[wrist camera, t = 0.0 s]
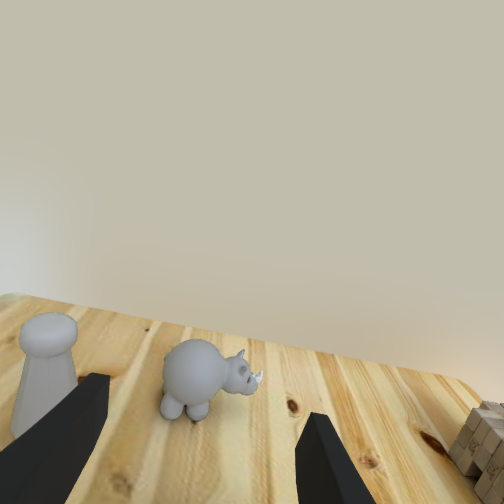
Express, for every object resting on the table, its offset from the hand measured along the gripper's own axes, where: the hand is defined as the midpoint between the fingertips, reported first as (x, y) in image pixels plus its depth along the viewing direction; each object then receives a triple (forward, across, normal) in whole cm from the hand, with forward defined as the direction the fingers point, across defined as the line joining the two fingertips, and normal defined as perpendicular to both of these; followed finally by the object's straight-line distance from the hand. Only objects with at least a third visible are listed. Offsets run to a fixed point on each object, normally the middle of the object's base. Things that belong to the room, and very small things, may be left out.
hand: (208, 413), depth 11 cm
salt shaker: (+13, +14, +23) cm, 30 cm away
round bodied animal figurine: (+20, -1, +24) cm, 31 cm away
